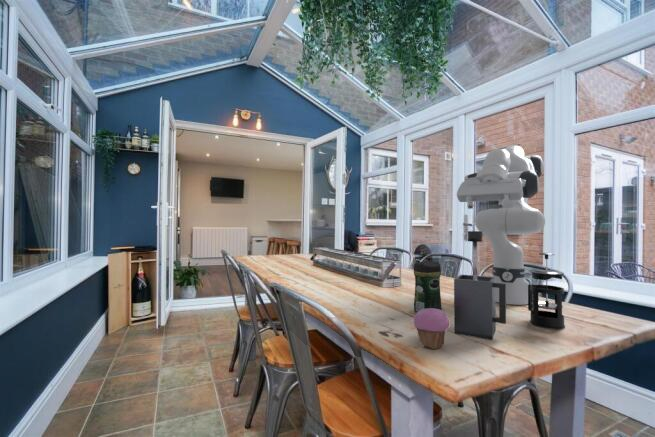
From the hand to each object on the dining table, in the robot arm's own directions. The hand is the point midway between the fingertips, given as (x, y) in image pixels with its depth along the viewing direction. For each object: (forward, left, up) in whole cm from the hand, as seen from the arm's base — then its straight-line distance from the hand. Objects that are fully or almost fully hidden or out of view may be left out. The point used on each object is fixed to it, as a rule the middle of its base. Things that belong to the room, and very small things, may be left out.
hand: (485, 206), depth 105 cm
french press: (-9, +16, -38) cm, 43 cm away
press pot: (+12, 0, -38) cm, 40 cm away
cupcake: (+31, -10, -38) cm, 50 cm away
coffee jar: (-2, -19, -38) cm, 43 cm away
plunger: (+12, -2, -24) cm, 27 cm away
